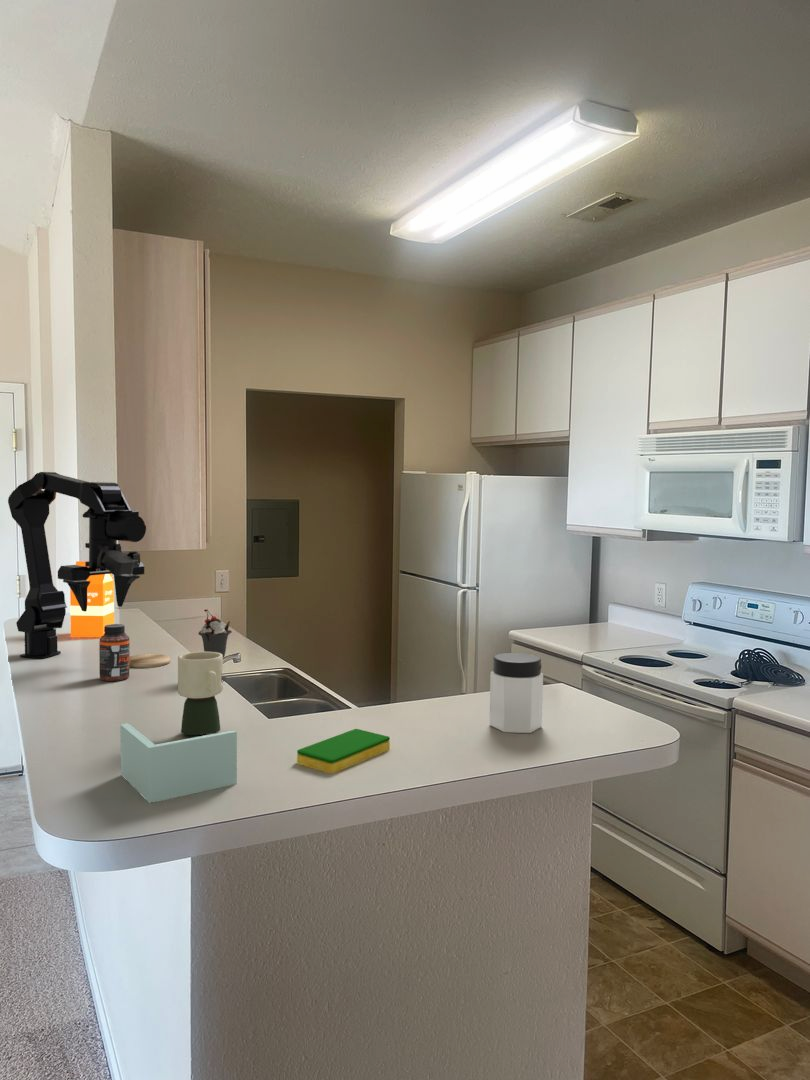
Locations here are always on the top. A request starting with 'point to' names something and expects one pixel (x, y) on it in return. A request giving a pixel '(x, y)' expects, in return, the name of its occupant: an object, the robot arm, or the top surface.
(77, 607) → the orange juice
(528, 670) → the jar
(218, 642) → the sundae
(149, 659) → the plate
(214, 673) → the character mug
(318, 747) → the dish sponge
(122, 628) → the supplement bottle
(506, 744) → the top surface
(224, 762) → the l-shaped corner panel
